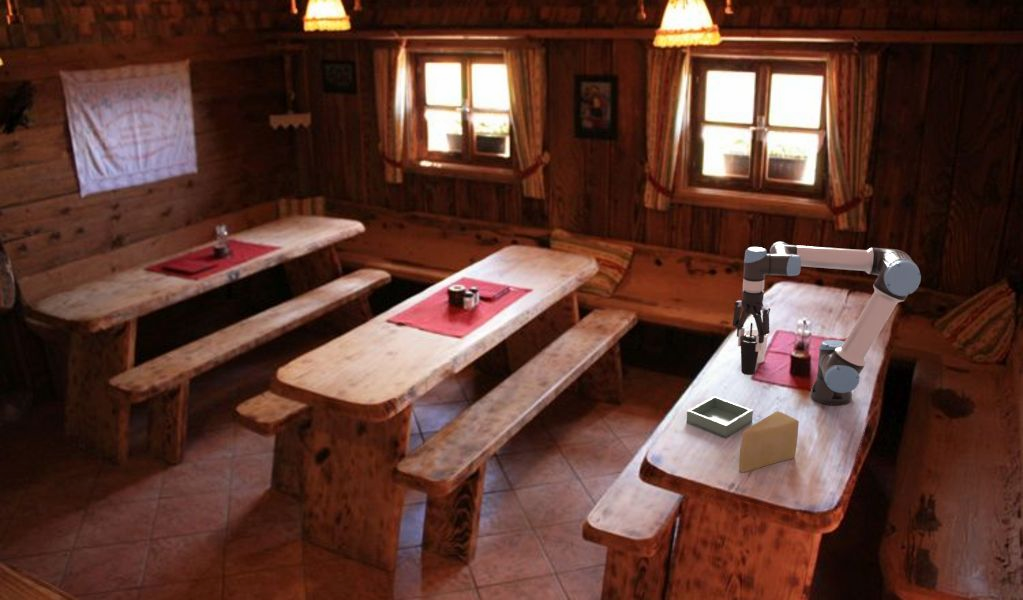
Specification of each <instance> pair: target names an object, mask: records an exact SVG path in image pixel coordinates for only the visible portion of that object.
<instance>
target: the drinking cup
mask: <svg viewBox="0 0 1023 600" xmlns="http://www.w3.org/2000/svg"><path fill="white" fill-rule="evenodd" d="M749 330H750V335H745V334H744V336H742V337H740V341H741V346H740V364H741V365H740V366H741V369H740V370H741V373H742V374H743V375H746V376H753V375H755V373H756V369H757V364H758V363H757V357H758V352H759V351H758V352H756V351H755V350H756V344H757V342H756V336H755V335H752V330H753V322H750V329H749Z"/></svg>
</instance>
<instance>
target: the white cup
mask: <svg viewBox="0 0 1023 600" xmlns="http://www.w3.org/2000/svg"><path fill="white" fill-rule="evenodd" d="M757 334H758V330H757V329H752V335H755V336H756V335H757ZM744 335H750V329H748V330H747V331H745V332H744ZM768 335H769V333H768V334H766V335H764V342H763V343H762V346H761V350H760V351H759V352H758V357H757V363H756V364H761V363H764V362H765V358H766V352H767V345H768V337H769V336H768Z"/></svg>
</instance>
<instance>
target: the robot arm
mask: <svg viewBox="0 0 1023 600" xmlns="http://www.w3.org/2000/svg"><path fill="white" fill-rule="evenodd" d="M802 267H809V268H821V269H823V268H824V269H835V270H847V271H861V272H862V271H863V272H865V273H867V274H868V275H874V276H875V275H876V276H877V278H876V279H875V280H874V283H873V285H872V286H873V289H874V292H873V293H872V295H871V297H870V298H869V300H868V301H867V303H866V305H865V306H864V308H863V310H862V312H861V314H860V315H859V317H858V319H857V320H856V322H855V323H854V325H853V327H852V329H851V330H850V332H849V334H848V335H847V337H846V339H844V340H839V339H837V340H836V339H827V340H824V341H821V342H820V345H819V348H818V350H819V351H818V361H817V371H816V372H817V373H816V374H817V375H816V378H815V380H814V382H813V384H812V386H811V389H810V394H809V395H810V398H811V399H812V400H813V401H815V402H817V403H819V404H822V405H826V406H832V407H834V406H835V407H838V406H846V405H848V404H850V403H851V402H852V399H853V398H852V397H853V393H852V391H854V390H855V389H856V388H857V387H858V386H859V383H860V374H861V372H863V371H862V370H863V369H864V367H865V365H866V360H865V357H866V356H867V354H868V352H869V351H870V349H871V347H872V346H873V344H874V342H875V341H876V340H877V338H878V336H879V334H880V333H881V330H882V329H883V328H884V326H885V325H886V323H887V321H888V319H889V318H890V316H891V314H892V313H893V312H894V310H895V308H896V306H897V305H898V303H901V302H905V300H906V299H907V297H908V295H910V294H913V293H914V292H916V291H917V289H918V288H919V285H920V284H921V281H922V279H921V278H922V275H921V272H920V269H919V267H918V265H917V264H916V263H915V262H914V261H913V260H912V258H911V256H910V255H908V253H906V252H905V251H902V250H899V249H895V248H894V249H893V248H881V247H880V248H879V247H870V248H868V249H854V248H853V249H851V248H837V247H825V246H824V247H823V246H822V247H821V246H809V245H807V246H806V245H794V244H788V243H786V242H784V241H776V242H774V243H773V244H772V245H771V247H770V249H769V253H768V251H767V249H766V248H763V247H761V246H760V247H759V246H750V247H747V249H746V250H745V253H744V259H743V276H742V277H743V279H742V280H743V281H742V292H741V298H742V299H741V300H740V299H739V300H737V301H734V314H733V318H732V319H733V320H732V326H733V327H735V328H736V337H738V338H737V339H738V340H737V347H741V341H740V337H742V336H744V335H745V332H746V331H745V329H746V328H744V327H745V326H744V325H745V323H746V321H747V319H748V316H749V315H752V317H753V318H754V321H755V326H756V330H758V334H757V335H756V342H757V344H756V350H755V351H756V352H758V351H760V350H761V346H762V343H763V342H764V335H766V334H768V335H769V334H770V312H771V308H770V307H765V306H764V304H763V301H764V294H765V291H764V290H765V278H766V277H765V276H766V275H767V276H788V277H792V276H793V277H794V276H799V275H800V273H801V268H802ZM742 308H743V310H742Z"/></svg>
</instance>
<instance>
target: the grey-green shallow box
mask: <svg viewBox="0 0 1023 600" xmlns="http://www.w3.org/2000/svg"><path fill="white" fill-rule="evenodd" d="M753 415H754V410H753V409H750V408H749V407H745V406H743V405H740V404H737V403H735V402H731V401H729V400H726V399H723V398H720V397H718V396H716V395H713V396H711V397H710V398H709V397H708V399H706V400H704V401H702V402H700V403H698V404H697V405H695V406H693V407H691V408H690V409H687V410H686V423H687V424H689V425H691V426H693V427H696V428H698V429H701V430H703V431H706V432H709V433H710V434H711V433H712V434H714V435H716V436H719V437H721V438H724V439H727V438H729V437H731V436H732V435H734V434H736V433H737V432H738V431H740V430H742V429H744V428H745V427H747V426H749V424H752V423H753Z"/></svg>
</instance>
